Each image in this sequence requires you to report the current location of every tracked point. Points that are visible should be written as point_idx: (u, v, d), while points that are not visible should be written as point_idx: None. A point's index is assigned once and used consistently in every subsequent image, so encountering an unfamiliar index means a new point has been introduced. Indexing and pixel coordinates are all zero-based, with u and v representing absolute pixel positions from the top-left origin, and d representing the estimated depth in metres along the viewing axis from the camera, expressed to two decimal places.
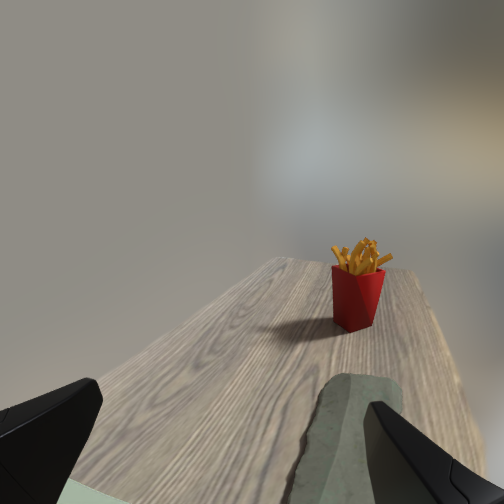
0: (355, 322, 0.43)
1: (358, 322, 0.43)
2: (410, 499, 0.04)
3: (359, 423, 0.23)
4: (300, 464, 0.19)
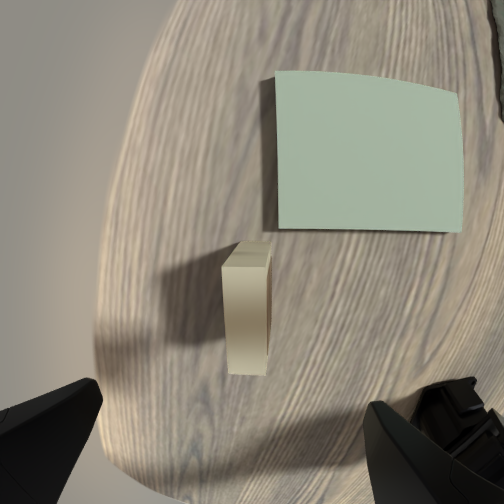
0: None
1: None
2: (410, 499, 0.04)
3: None
4: (501, 45, 0.12)
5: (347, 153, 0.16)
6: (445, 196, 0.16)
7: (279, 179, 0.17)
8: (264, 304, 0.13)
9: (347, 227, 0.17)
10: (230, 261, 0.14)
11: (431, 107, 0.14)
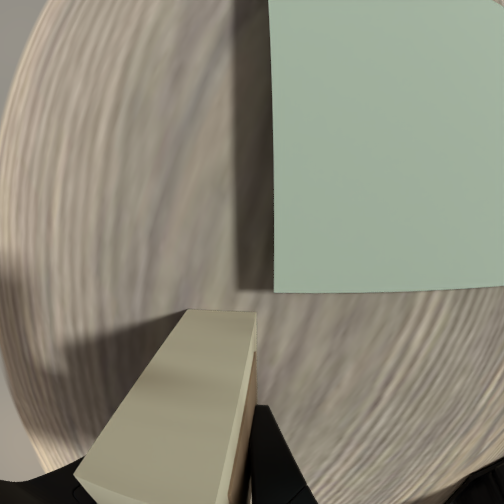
0: None
1: None
2: None
3: None
4: None
5: (441, 109, 0.05)
6: None
7: (277, 162, 0.06)
8: None
9: (435, 286, 0.06)
10: (111, 440, 0.03)
11: None
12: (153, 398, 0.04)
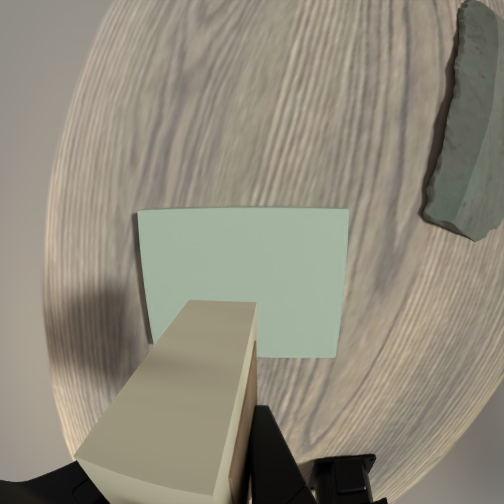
0: None
1: None
2: None
3: None
4: (452, 113, 0.14)
5: (204, 293, 0.18)
6: (314, 327, 0.18)
7: (149, 312, 0.19)
8: None
9: None
10: (113, 421, 0.03)
11: (306, 235, 0.17)
12: (155, 381, 0.05)
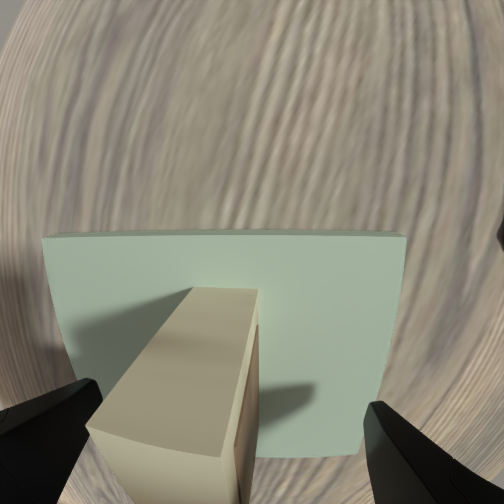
0: None
1: None
2: (410, 499, 0.04)
3: None
4: None
5: None
6: (328, 425, 0.10)
7: None
8: None
9: None
10: (124, 393, 0.04)
11: (324, 288, 0.08)
12: (164, 357, 0.05)
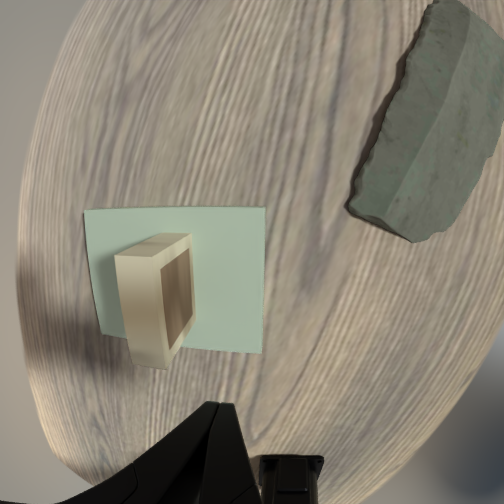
0: None
1: None
2: None
3: (470, 82, 0.13)
4: (394, 105, 0.15)
5: None
6: (236, 322, 0.19)
7: (95, 301, 0.20)
8: (154, 295, 0.13)
9: None
10: (128, 250, 0.13)
11: (222, 233, 0.18)
12: (143, 245, 0.14)
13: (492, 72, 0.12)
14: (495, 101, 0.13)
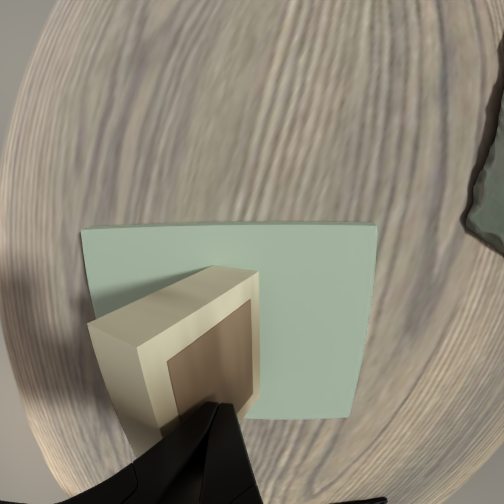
0: None
1: None
2: None
3: None
4: None
5: None
6: (322, 386, 0.12)
7: None
8: (151, 408, 0.06)
9: None
10: (117, 313, 0.07)
11: (314, 265, 0.11)
12: (154, 301, 0.08)
13: None
14: None
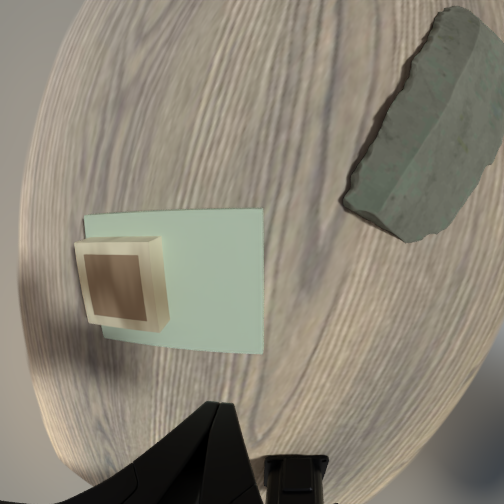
0: None
1: None
2: None
3: (474, 89, 0.13)
4: (396, 104, 0.15)
5: None
6: (237, 324, 0.19)
7: None
8: (78, 268, 0.17)
9: (148, 343, 0.20)
10: (97, 237, 0.18)
11: (221, 235, 0.18)
12: (108, 237, 0.18)
13: (497, 82, 0.13)
14: (498, 110, 0.13)
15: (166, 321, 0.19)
